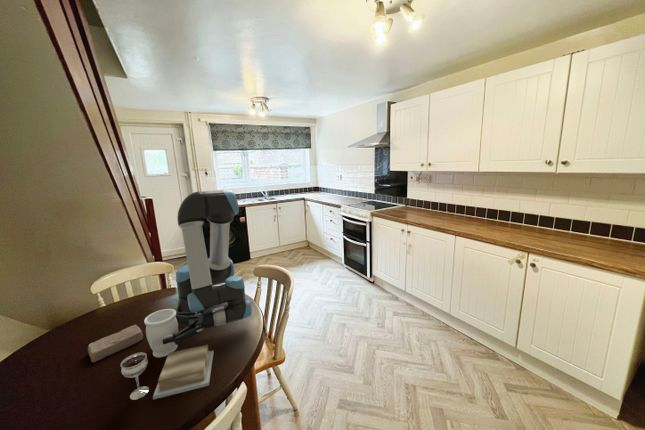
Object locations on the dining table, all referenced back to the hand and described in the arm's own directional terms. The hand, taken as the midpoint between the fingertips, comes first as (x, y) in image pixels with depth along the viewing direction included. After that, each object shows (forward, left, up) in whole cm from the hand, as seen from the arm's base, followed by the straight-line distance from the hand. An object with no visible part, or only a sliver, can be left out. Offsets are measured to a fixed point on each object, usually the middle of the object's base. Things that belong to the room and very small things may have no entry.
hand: (154, 333), depth 98 cm
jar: (0, +3, -9) cm, 9 cm away
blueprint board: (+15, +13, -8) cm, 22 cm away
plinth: (+15, +13, -8) cm, 22 cm away
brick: (-10, -17, -9) cm, 21 cm away
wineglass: (+19, 0, -9) cm, 21 cm away
